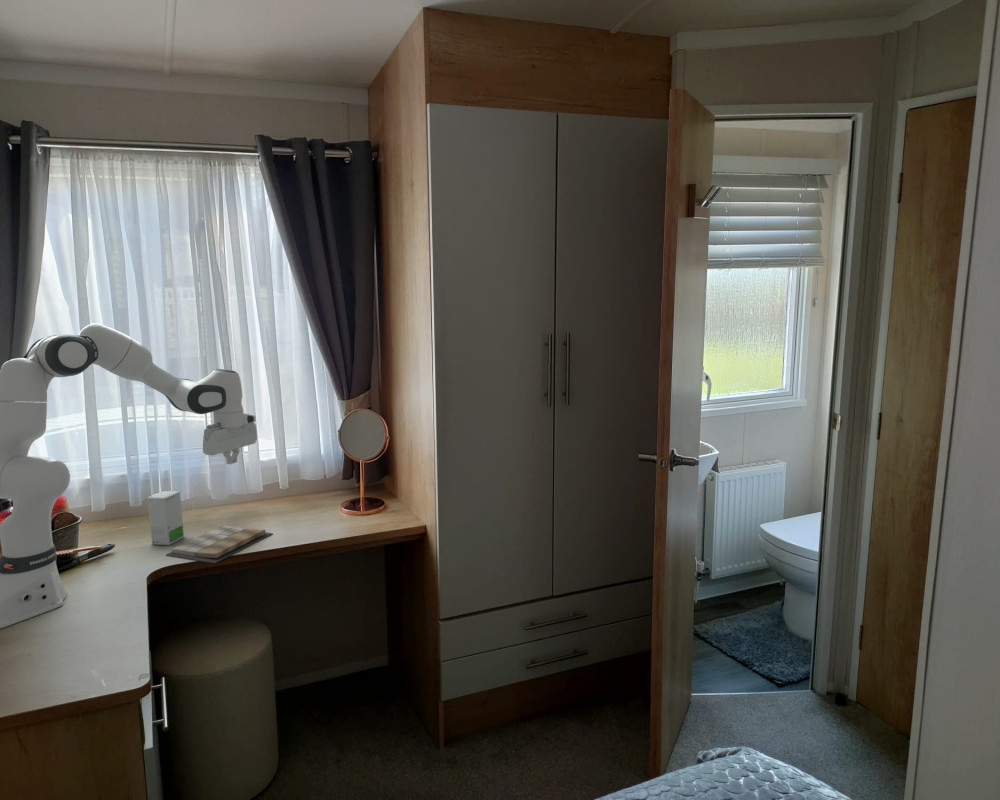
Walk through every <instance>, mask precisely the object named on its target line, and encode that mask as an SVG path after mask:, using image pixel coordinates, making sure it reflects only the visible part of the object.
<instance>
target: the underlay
mask: <svg viewBox="0 0 1000 800" xmlns="http://www.w3.org/2000/svg"><path fill="white" fill-rule="evenodd" d="M272 535H274V534H273V533H271V532H266V534H264V535H262V536H260V537H258V538H256V539H254V540H252V541H250V542H248V543H246V544H244V545H242V546H240V547H238V548H236V549H234V550H232V551H230V552H228V553H226V554H224V555H222V556H220V557H218V558H210V557H198V556H190V555H184V554H178V553H172V551H169V552H168V553H166V554H165V556H166V557H167V556H168V557H173V558H177V557H178V558H179V559H184V560H189V561H197V562H202V563H208V564H212V565H213V564H214V565H215V564H217V563H219V562H221V561H223V560H225V559H228V557H231V556H232V555H235V554H237V553H239V552H241V551H243V550H244V549H246V548H248V547H251V546H253V545H254V544H257V543H258V542H260V541H262V540H264V539H267V538H269V537H270V536H272Z"/></svg>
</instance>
